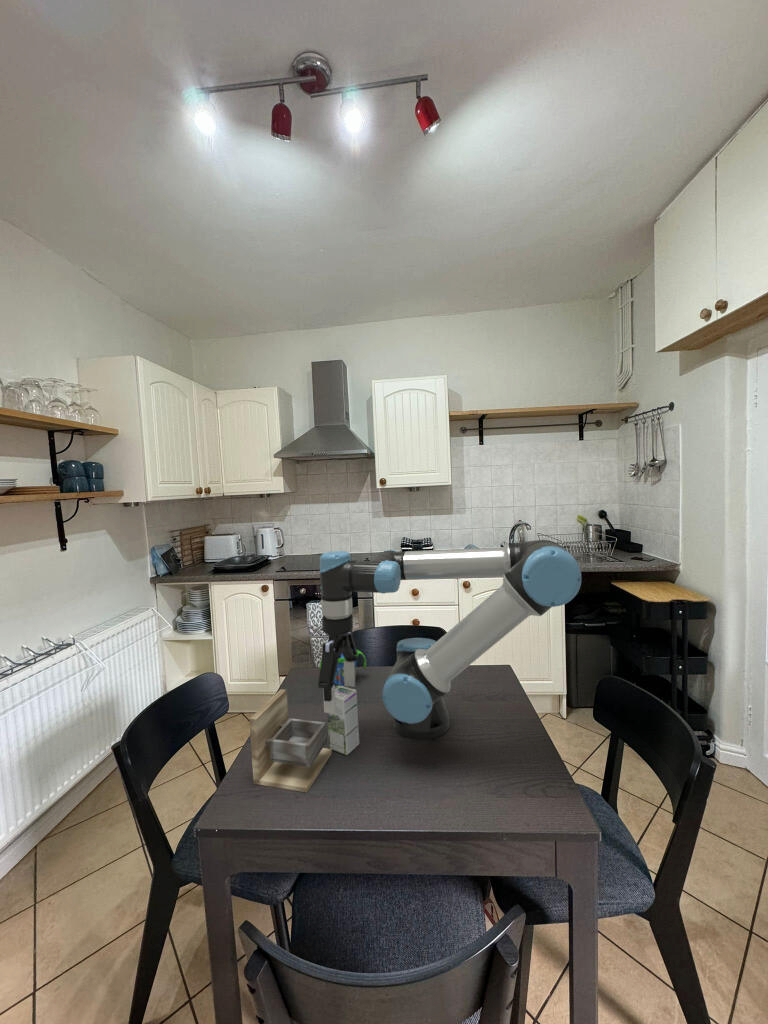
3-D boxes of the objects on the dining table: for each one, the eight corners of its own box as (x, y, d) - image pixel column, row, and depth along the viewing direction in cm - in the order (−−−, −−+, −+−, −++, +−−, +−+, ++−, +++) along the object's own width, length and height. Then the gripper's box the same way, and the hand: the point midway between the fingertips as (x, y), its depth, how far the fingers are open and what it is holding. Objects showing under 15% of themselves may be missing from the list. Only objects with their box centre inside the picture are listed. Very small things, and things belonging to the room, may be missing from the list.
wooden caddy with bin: (331, 753, 107) (328, 693, 106) (306, 792, 94) (303, 725, 93) (284, 746, 111) (280, 689, 110) (253, 783, 97) (249, 718, 96)
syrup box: (360, 744, 110) (357, 688, 109) (346, 756, 105) (343, 698, 104) (342, 737, 113) (339, 683, 112) (327, 749, 108) (324, 693, 108)
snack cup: (364, 672, 152) (362, 643, 152) (369, 685, 142) (368, 655, 142) (319, 678, 149) (317, 649, 148) (321, 692, 139) (320, 661, 138)
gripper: (341, 600, 120) (344, 675, 122) (300, 630, 96) (304, 723, 98) (367, 601, 118) (369, 677, 120) (332, 633, 94) (335, 727, 96)
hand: (340, 698), depth 109 cm, fingers open, 13 cm apart
